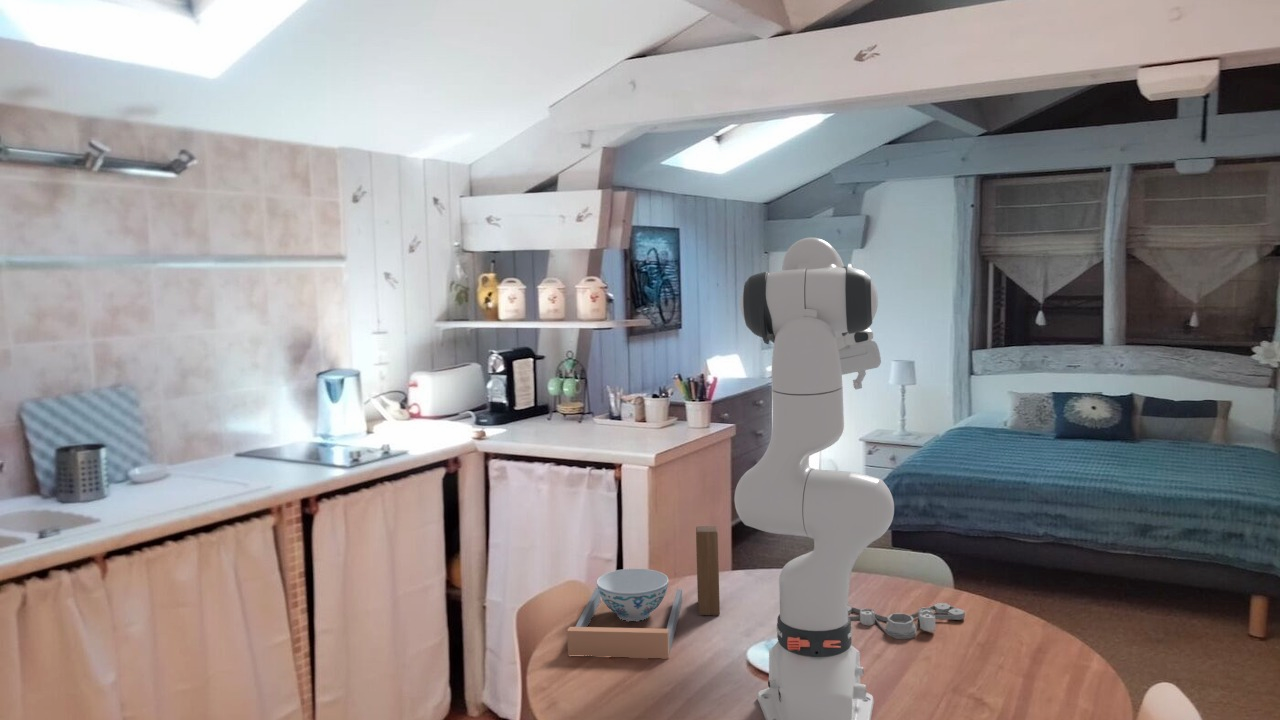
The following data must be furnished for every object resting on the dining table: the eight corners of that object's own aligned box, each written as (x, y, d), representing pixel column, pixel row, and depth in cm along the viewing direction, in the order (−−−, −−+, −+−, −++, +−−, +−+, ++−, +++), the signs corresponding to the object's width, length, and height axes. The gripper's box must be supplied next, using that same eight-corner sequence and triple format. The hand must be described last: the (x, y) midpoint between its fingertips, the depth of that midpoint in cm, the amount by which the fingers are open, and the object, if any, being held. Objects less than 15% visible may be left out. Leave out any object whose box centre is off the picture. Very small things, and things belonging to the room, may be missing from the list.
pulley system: (977, 645, 173) (960, 612, 188) (977, 622, 172) (959, 590, 187) (831, 647, 177) (825, 614, 191) (830, 624, 176) (824, 593, 191)
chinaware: (586, 611, 194) (585, 576, 194) (648, 598, 201) (647, 564, 200) (617, 635, 181) (615, 597, 180) (682, 620, 188) (681, 583, 187)
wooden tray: (668, 659, 169) (667, 633, 169) (568, 656, 172) (567, 630, 171) (682, 602, 198) (681, 580, 197) (596, 601, 200) (595, 579, 200)
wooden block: (698, 600, 199) (696, 520, 197) (719, 600, 198) (717, 519, 196) (698, 616, 190) (695, 531, 188) (719, 616, 189) (717, 531, 188)
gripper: (786, 350, 195) (794, 407, 201) (880, 331, 195) (885, 388, 200) (780, 339, 201) (788, 395, 206) (871, 321, 201) (877, 377, 206)
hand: (837, 392), depth 203 cm, fingers open, 8 cm apart
